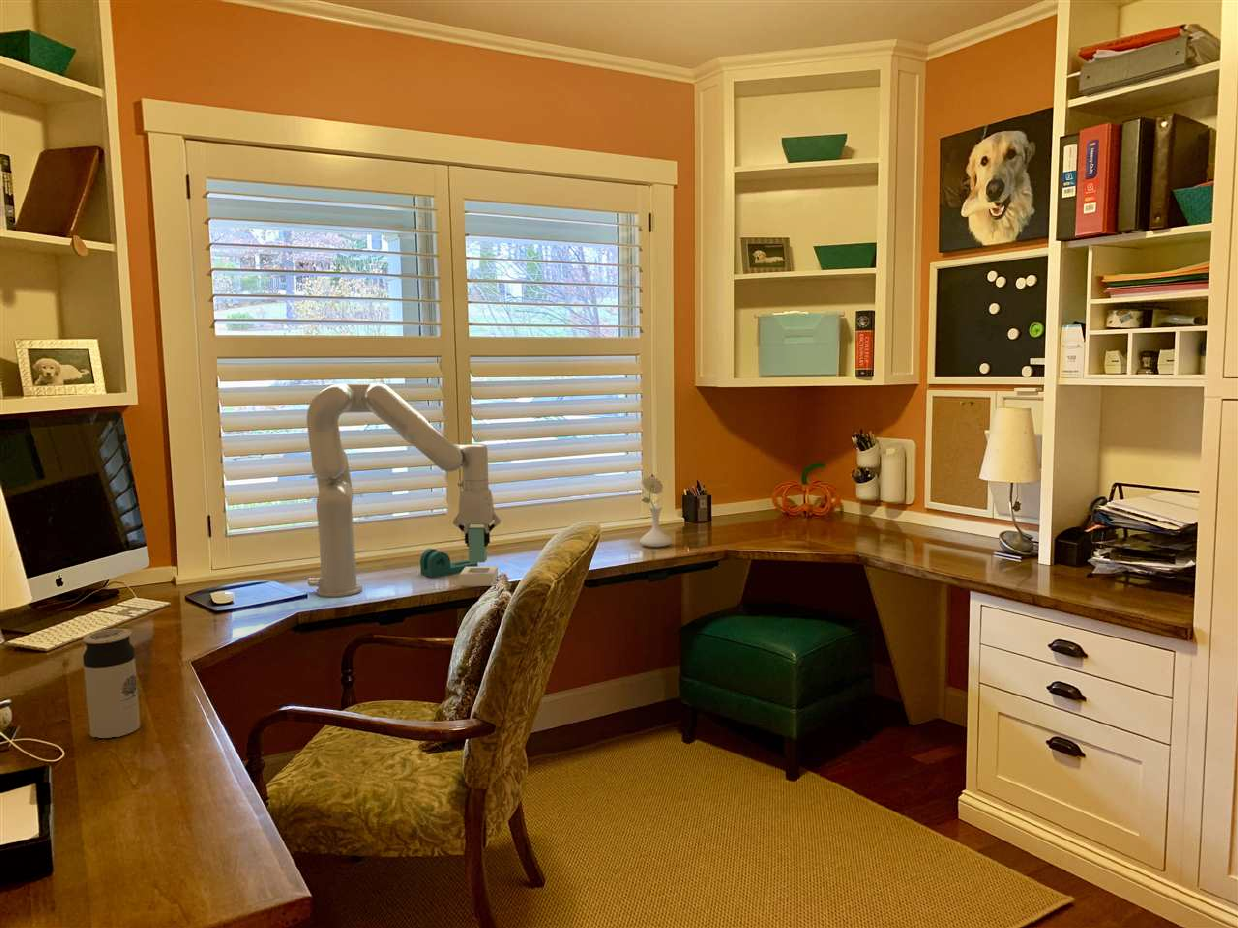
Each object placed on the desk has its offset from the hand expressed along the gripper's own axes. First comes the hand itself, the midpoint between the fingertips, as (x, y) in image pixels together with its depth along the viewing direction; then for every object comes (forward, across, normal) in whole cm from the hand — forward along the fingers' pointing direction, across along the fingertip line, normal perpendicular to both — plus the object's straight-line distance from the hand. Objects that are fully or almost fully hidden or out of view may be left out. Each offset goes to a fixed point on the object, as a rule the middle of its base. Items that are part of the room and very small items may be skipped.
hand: (477, 545), depth 269 cm
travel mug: (+12, -48, -109) cm, 120 cm away
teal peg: (+5, 0, 0) cm, 5 cm away
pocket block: (+11, 0, 0) cm, 11 cm away
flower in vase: (+11, +54, +49) cm, 74 cm away
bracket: (+12, -11, +14) cm, 21 cm away
